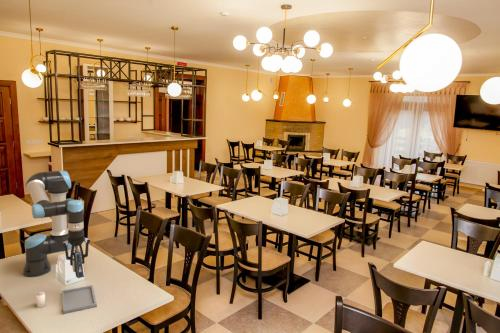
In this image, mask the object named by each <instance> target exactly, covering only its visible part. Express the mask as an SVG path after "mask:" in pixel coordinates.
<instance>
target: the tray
mask: <svg viewBox="0 0 500 333" xmlns="http://www.w3.org/2000/svg"><path fill="white" fill-rule="evenodd" d="M61 299H62V313H63V315H67V314H71V313H76V312H80V311H85V310H89V309H94V308H97V307H98V306H97V298H96V294H95V291H94V286H93V284H92V285H86V286H81V287H76V288H71V289H65V290H62V291H61Z"/></svg>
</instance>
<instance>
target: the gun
mask: <svg viewBox="0 0 500 333" xmlns="http://www.w3.org/2000/svg"><path fill="white" fill-rule="evenodd" d="M73 258H74V267H75V272H74V273H75V277H76V278H78V279H81V278H85V275H84V274H85V273H84V267H83V264H82V256H81V252H80V248H79V246H75V247H74V254H73ZM72 268H73V265H72Z"/></svg>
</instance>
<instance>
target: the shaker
mask: <svg viewBox="0 0 500 333" xmlns="http://www.w3.org/2000/svg"><path fill="white" fill-rule="evenodd" d="M35 295H36V307H37V309H43V308H45V307H46V292H44V291H43V290H39V291H38V292H37V293H36V294H35Z"/></svg>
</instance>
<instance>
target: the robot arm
mask: <svg viewBox="0 0 500 333" xmlns="http://www.w3.org/2000/svg"><path fill="white" fill-rule="evenodd" d="M71 188H72V181H71V178H70V175H69V172H68V171H67V170H54V171H53V170H52V171H41V172H37V173H36V172H35V173H34V174H33V175H31V176H29V178H28V179H27V181H26V183H25V189H26V190H25V191H27V192H28V194H30V197H31V200H32V203H33V204H32V205H31V214H32V218H33V219H44V218H50V217H51V229H52V230H51V231H50V232H49V235H46V234H44V233H38V234H34V235H32V236H29V237H27V238H26V239H25V241H24V249H25V252H24V253H25V262H24V263H25V264H24V268H23V273H22V274H23V275H24V277H27V278H28V277H30V278H33V277H41V276H44V275H46V274H47V273H49V272H51V270H52V266H51V263H50V261H49V259H48V255H51V254H55V253H61V252H62V253H63V252H65V260H67V261H69V262H70V264H69V265H70V267H71V266H72V265H73V267H72V272H73V273H75V267H74V256H73V254H74V252H75V246H78V248H79V252H81V257H82V265H83V264H85V258H88V257H89V246H90V242H91V239H90V238H89V237H85V230H84V228H85V227H84V226H85V225H84V224H85V223H84V204H83V201H82V200H80V199H72V198H67V197H66V196H67V194H68V193H69V189H71ZM46 191H47V192H46ZM48 195H50V198H49V197H48ZM84 242H85V250H83V245H82V244H83V243H84ZM69 250H70V255H69ZM84 251H85V252H84Z"/></svg>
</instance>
